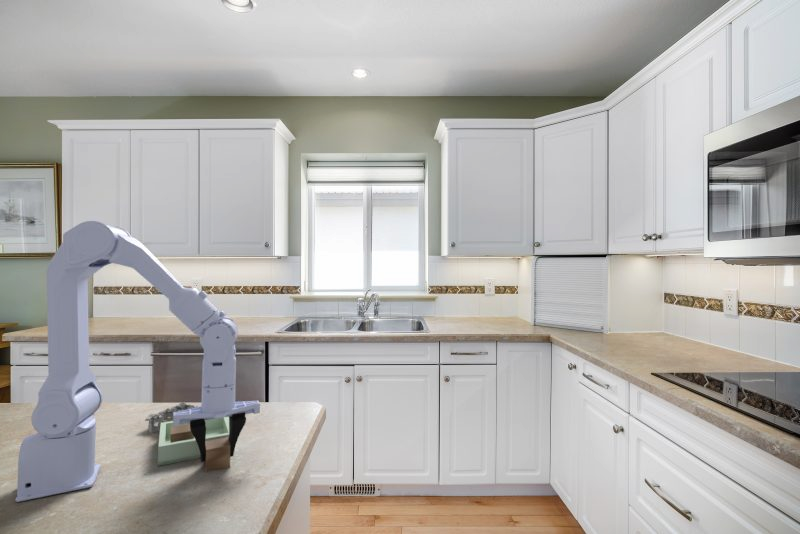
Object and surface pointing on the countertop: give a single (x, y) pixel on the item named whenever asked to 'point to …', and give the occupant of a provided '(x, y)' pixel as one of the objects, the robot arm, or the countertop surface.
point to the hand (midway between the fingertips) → (217, 457)
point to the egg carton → (165, 416)
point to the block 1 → (181, 433)
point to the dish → (188, 441)
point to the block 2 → (217, 454)
